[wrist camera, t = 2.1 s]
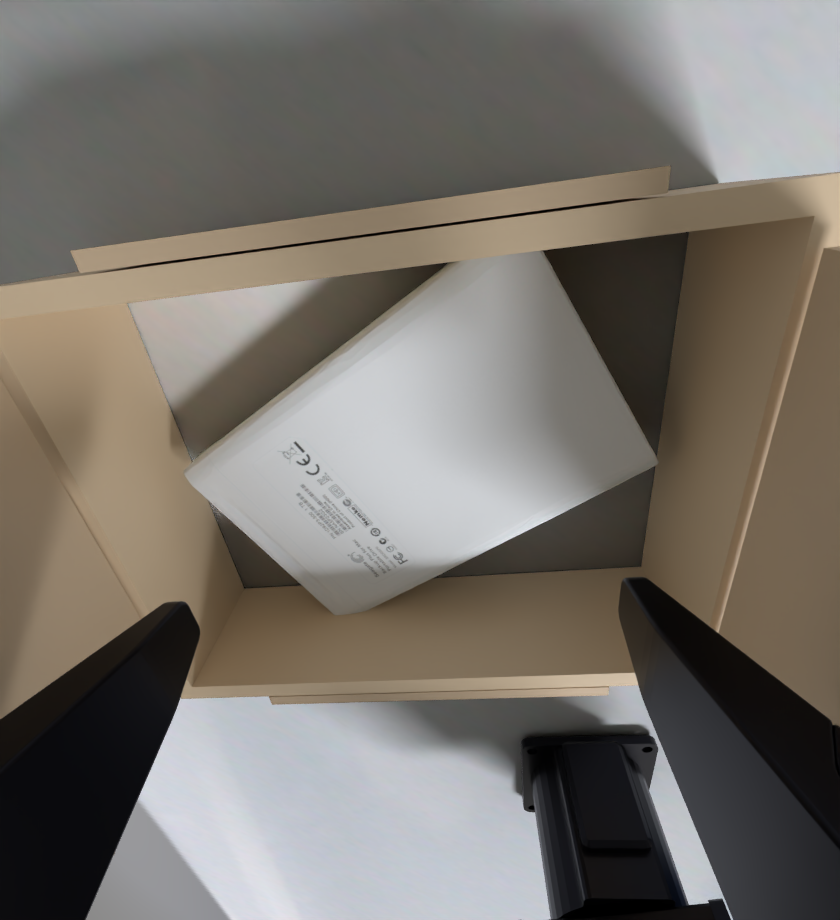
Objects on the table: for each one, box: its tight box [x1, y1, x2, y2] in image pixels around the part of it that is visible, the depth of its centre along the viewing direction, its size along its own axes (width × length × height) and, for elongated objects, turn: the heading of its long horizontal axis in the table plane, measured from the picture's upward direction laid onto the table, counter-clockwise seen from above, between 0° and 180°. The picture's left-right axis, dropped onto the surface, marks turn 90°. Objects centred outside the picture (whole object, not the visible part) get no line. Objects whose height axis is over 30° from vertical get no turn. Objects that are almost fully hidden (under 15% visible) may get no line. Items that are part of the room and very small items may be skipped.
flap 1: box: [0, 378, 141, 854], centre depth 10 cm, size 4×11×1 cm
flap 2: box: [719, 246, 840, 726], centre depth 8 cm, size 4×11×1 cm
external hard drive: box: [183, 250, 659, 615], centre depth 15 cm, size 2×8×12 cm
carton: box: [0, 166, 840, 705], centre depth 13 cm, size 14×17×4 cm
